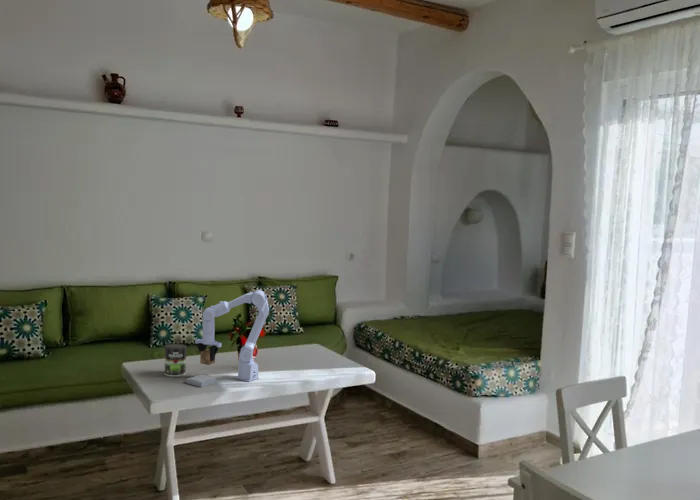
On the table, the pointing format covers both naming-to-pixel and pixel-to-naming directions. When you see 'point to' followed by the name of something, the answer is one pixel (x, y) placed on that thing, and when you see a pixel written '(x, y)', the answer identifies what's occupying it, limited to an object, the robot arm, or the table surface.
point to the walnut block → (206, 357)
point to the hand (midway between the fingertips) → (207, 359)
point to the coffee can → (175, 360)
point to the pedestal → (201, 380)
